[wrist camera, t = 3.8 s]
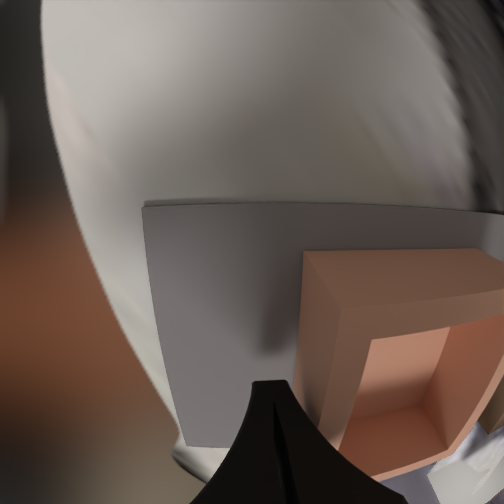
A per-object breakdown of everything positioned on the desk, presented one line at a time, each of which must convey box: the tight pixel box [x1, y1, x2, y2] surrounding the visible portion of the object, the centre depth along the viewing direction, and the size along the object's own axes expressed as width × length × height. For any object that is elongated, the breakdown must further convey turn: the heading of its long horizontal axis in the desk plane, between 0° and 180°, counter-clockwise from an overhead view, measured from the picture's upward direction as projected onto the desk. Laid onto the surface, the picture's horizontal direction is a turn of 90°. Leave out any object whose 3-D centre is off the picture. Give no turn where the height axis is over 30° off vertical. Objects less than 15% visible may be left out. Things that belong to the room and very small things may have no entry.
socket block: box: [292, 248, 504, 481], centre depth 10 cm, size 10×9×4 cm
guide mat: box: [142, 203, 504, 448], centre depth 13 cm, size 14×24×1 cm, turn 90°
